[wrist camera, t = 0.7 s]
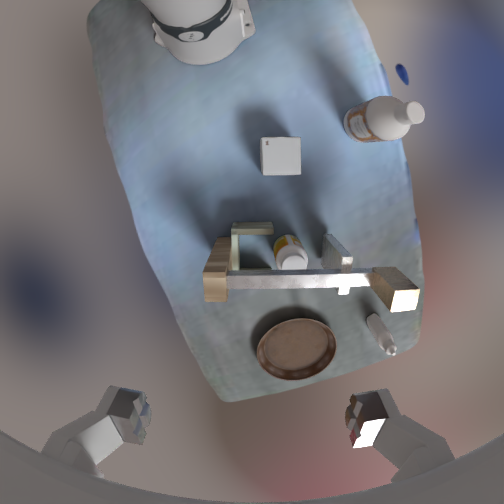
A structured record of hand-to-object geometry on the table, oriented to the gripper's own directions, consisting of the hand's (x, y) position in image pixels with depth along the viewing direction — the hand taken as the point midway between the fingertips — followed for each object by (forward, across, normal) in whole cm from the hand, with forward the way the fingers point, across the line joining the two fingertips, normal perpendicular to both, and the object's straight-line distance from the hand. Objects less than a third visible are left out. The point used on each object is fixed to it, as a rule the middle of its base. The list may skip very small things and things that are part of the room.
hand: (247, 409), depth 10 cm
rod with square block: (+43, -9, +7) cm, 44 cm away
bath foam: (+43, -20, -17) cm, 50 cm away
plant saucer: (+44, -10, +30) cm, 54 cm away
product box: (+44, -4, -10) cm, 45 cm away
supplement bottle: (+44, -6, +7) cm, 45 cm away
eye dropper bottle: (+44, -28, +25) cm, 58 cm away
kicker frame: (+44, 0, +7) cm, 44 cm away
